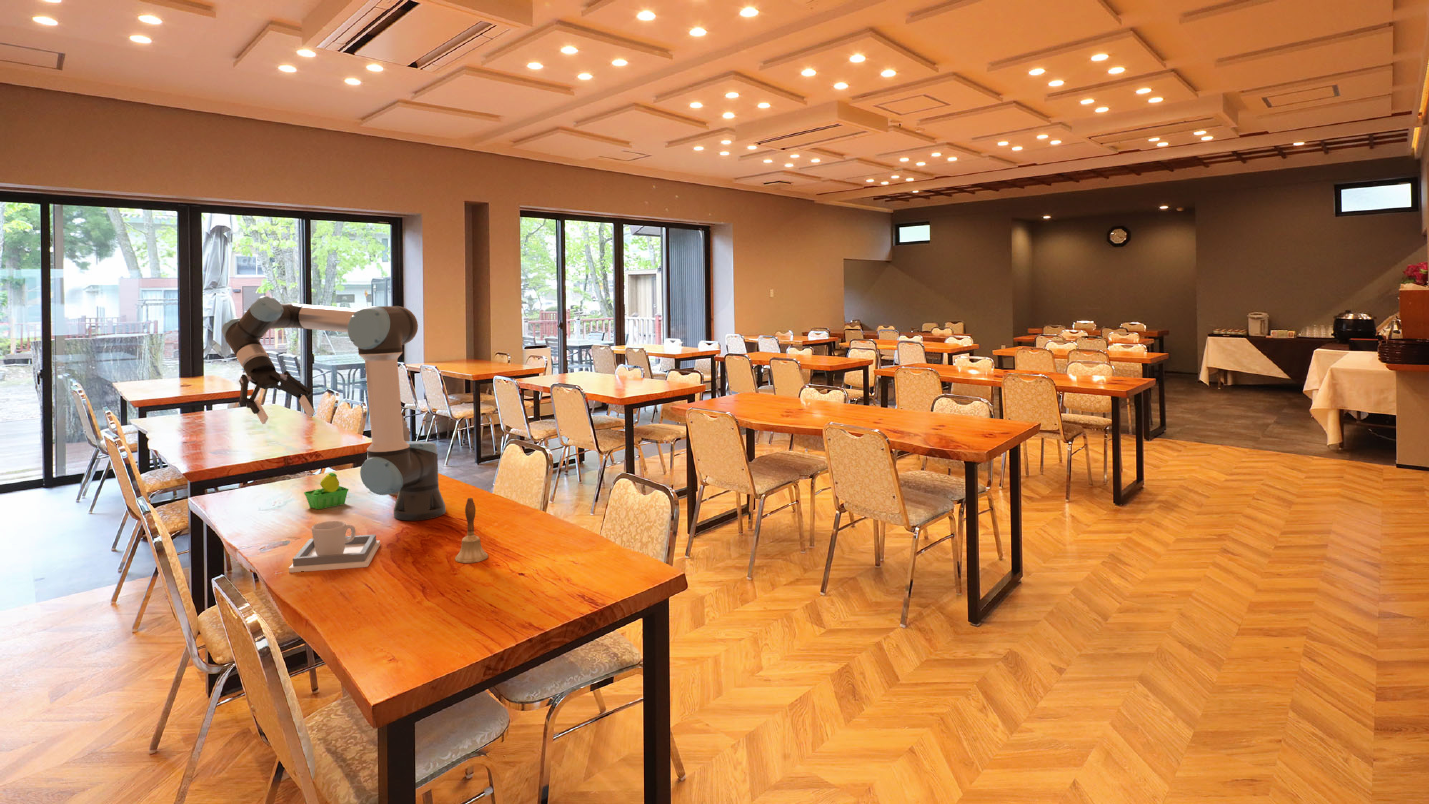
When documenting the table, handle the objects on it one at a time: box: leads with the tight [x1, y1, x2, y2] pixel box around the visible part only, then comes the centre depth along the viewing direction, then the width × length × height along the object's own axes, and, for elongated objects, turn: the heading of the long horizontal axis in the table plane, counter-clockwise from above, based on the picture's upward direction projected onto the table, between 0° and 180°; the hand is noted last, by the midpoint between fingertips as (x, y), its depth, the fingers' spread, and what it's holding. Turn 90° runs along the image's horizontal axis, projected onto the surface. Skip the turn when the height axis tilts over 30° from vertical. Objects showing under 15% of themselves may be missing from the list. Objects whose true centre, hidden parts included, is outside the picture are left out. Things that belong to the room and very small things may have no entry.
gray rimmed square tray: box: [288, 533, 381, 573], centre depth 201 cm, size 18×18×3 cm
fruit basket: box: [303, 472, 350, 510], centre depth 249 cm, size 11×9×11 cm
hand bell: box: [454, 497, 489, 564], centre depth 200 cm, size 8×8×16 cm
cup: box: [310, 520, 357, 556], centre depth 200 cm, size 11×8×8 cm
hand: (289, 417), depth 222 cm, fingers open, 13 cm apart
